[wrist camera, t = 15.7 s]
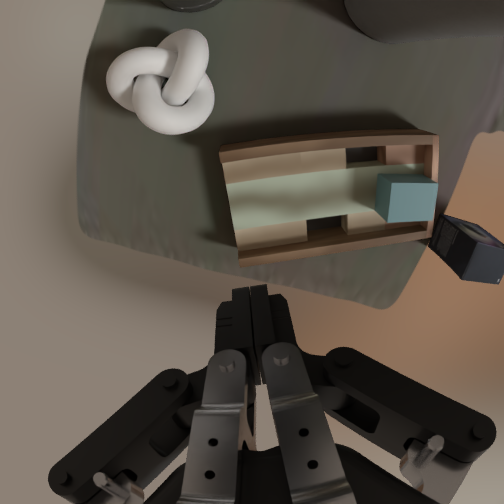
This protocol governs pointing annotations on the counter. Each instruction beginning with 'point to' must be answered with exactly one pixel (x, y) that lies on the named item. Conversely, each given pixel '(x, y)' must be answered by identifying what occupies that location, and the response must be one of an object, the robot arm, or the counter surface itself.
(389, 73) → the counter surface
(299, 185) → the track
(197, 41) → the white knot sculpture
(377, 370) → the robot arm
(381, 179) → the block
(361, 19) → the canister
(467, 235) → the small box
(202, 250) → the counter surface
